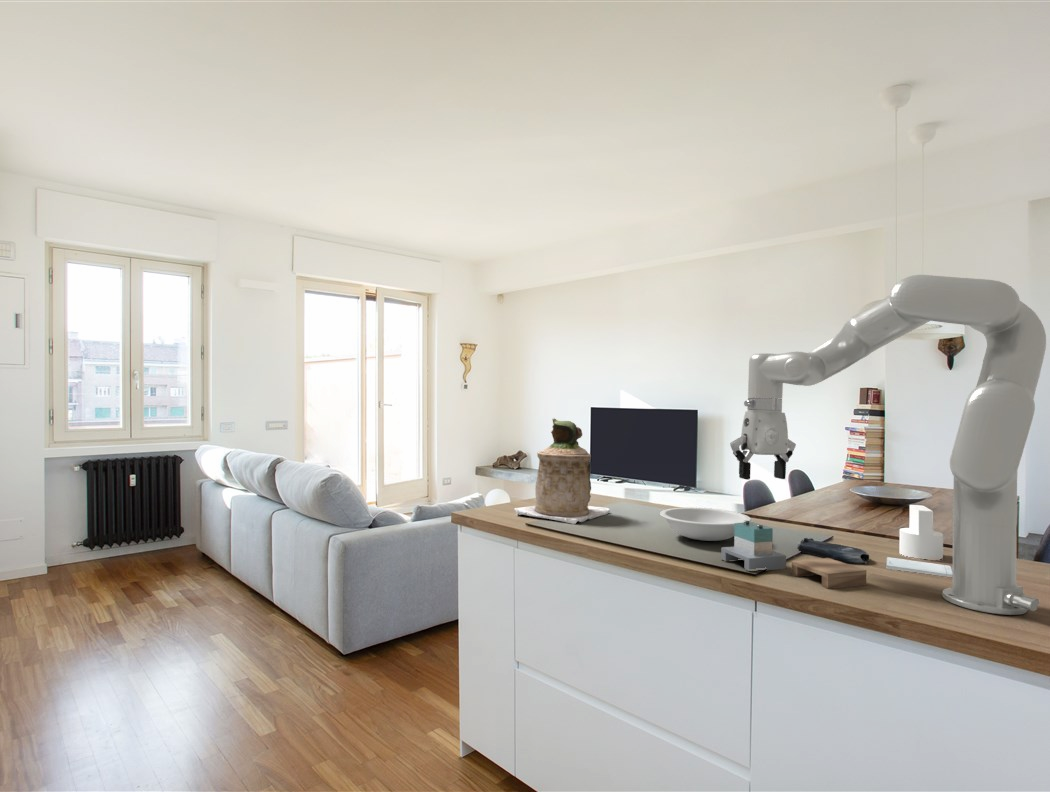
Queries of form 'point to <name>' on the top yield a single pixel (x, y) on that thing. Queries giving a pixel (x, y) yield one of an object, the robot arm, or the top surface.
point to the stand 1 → (755, 559)
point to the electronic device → (833, 551)
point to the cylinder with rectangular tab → (921, 535)
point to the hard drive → (919, 567)
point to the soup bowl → (703, 522)
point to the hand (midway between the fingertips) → (762, 478)
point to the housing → (753, 538)
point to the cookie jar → (563, 479)
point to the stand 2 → (830, 572)
